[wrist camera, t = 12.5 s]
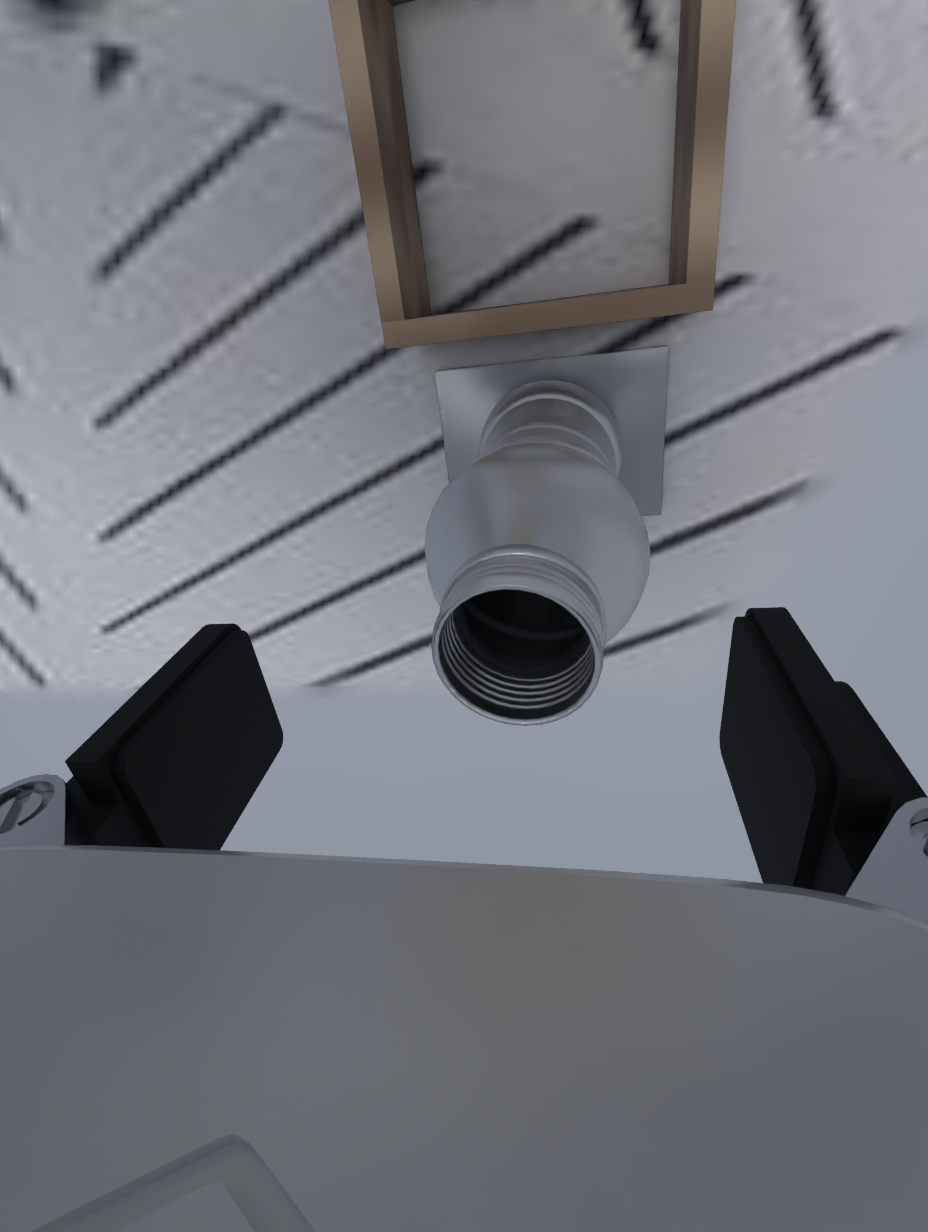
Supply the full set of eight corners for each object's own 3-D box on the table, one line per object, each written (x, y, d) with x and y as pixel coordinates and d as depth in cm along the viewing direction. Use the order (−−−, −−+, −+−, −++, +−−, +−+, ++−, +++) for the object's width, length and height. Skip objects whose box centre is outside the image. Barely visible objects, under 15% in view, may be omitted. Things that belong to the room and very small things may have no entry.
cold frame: (362, -24, 23) (312, -95, 19) (716, -116, 20) (752, -224, 16) (414, 340, 29) (385, 349, 25) (691, 306, 26) (712, 310, 22)
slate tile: (438, 370, 30) (434, 372, 29) (666, 345, 27) (668, 346, 27) (457, 520, 33) (454, 525, 33) (659, 509, 31) (661, 514, 30)
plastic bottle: (541, 341, 27) (477, 433, 10) (648, 433, 28) (753, 655, 11) (462, 450, 30) (310, 661, 13) (561, 529, 32) (539, 816, 14)
